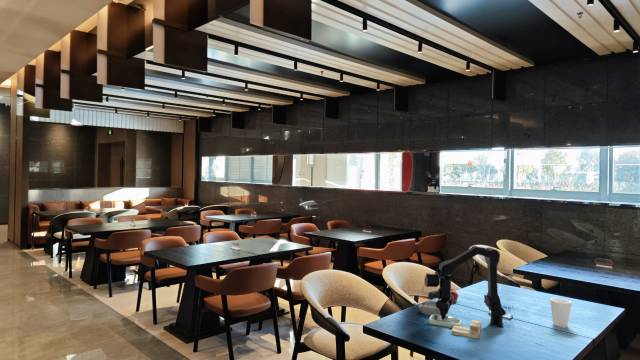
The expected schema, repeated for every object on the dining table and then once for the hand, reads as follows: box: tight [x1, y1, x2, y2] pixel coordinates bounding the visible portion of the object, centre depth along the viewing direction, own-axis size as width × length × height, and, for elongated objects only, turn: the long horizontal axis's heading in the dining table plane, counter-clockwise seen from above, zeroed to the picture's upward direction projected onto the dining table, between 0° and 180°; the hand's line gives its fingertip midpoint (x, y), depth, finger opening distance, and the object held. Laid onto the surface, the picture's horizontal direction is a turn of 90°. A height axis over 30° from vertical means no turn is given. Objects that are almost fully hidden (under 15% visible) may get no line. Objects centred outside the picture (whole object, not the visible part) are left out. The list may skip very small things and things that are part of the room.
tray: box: [428, 315, 463, 329], centre depth 214 cm, size 9×16×2 cm, turn 64°
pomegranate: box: [451, 288, 459, 303], centre depth 254 cm, size 10×10×9 cm
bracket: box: [451, 319, 482, 340], centre depth 201 cm, size 8×13×6 cm, turn 64°
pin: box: [434, 314, 458, 324], centre depth 214 cm, size 3×11×3 cm, turn 64°
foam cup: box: [550, 297, 572, 328], centre depth 215 cm, size 10×9×13 cm
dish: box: [418, 300, 441, 316], centre depth 231 cm, size 14×14×5 cm
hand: (444, 316), depth 214 cm, fingers open, 9 cm apart
